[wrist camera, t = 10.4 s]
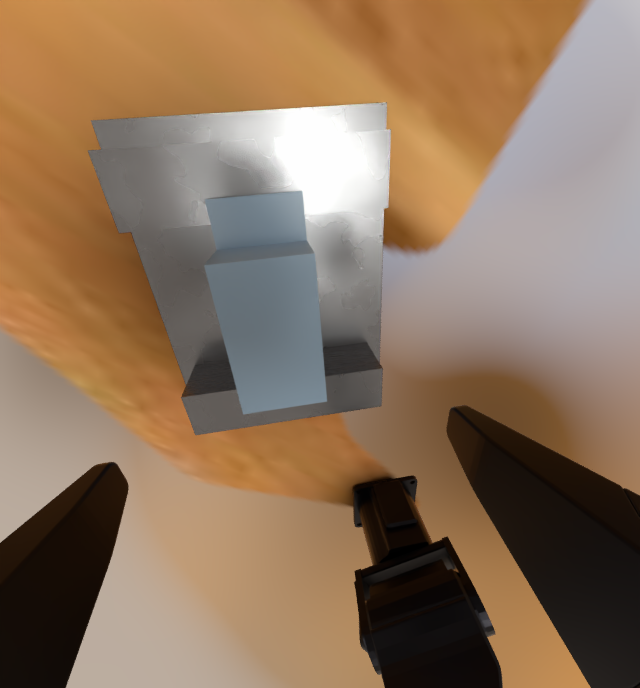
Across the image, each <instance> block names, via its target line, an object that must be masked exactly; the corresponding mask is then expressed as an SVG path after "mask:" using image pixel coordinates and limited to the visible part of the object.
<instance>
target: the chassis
mask: <svg viewBox="0 0 640 688" xmlns="http://www.w3.org/2000/svg"><path fill="white" fill-rule="evenodd" d="M386 119H387V103H371V104H354V105H338V106H322V107H305V108H289V109H273V110H257V111H240V112H224V113H208V114H191V115H175V116H159V117H142V118H126V119H110V120H94V121H91V122H92V125H93V128H94V131H95V133H96V136H97V139H98V142H99V144H100V147H101V150H89V151H88V153H89V155H90V158H91V161H92V163H93V166H94V169H95V171H96V174H97V176H98V179H99V182H100V184H101V187H102V190H103V192H104V195H105V198H106V200H107V203H108V206H109V208H110V211H111V213H112V216H113V219H114V221H115V224H116V227H117V229H118V232H119V233H126V232H131V233H132V236H133V239H134V242H135V245H136V247H137V250H138V253H139V256H140V259H141V261H142V264H143V267H144V270H145V272H146V275H147V278H148V281H149V284H150V286H151V289H152V292H153V295H154V297H155V300H156V303H157V306H158V309H159V311H160V314H161V317H162V320H163V323H164V325H165V328H166V331H167V334H168V336H169V339H170V342H171V345H172V348H173V350H174V353H175V356H176V359H177V361H178V364H179V367H180V370H181V373H182V375H183V378H184V381H185V384H186V387H185V390H184V392H183V394H182V397H181V398H182V401H183V404H184V406H185V409H186V412H187V414H188V417H189V419H190V422H191V425H192V427H193V430H194V433H195V435H200V434H207V433H213V432H219V431H226V430H232V429H239V428H245V427H251V426H258V425H264V424H271V423H277V422H283V421H290V420H296V419H303V418H309V417H315V416H322V415H328V414H335V413H341V412H347V411H354V410H360V409H367V408H373V407H380V406H381V404H382V375H383V373H382V372H383V368H382V366H381V365H380V333H381V298H382V262H383V226H384V208H388V199H389V170H390V140H391V129H390V130H386ZM291 191H302V192H303V203H304V213H305V224H306V235H307V241H308V243H309V245H310V246H311V248H312V249H313V251H314V253H315V260H316V272H317V284H318V297H319V309H320V321H321V333H322V346H323V358H324V370H325V382H326V394H327V402H321V403H314V404H308V405H301V406H295V407H288V408H282V409H275V410H269V411H262V412H256V413H249V414H243V412H242V408H241V404H240V400H239V396H238V393H237V389H236V385H235V381H234V377H233V374H232V370H231V366H230V362H229V358H228V355H227V351H226V347H225V343H224V339H223V336H222V332H221V328H220V324H219V320H218V317H217V313H216V309H215V305H214V301H213V298H212V294H211V290H210V286H209V282H208V279H207V275H206V271H205V267H204V265H205V264H206V262H207V261H208V260H209V259H210V258H211V256H212V255H213V254H214V253H215V251H216V245H215V241H214V237H213V233H212V229H211V224H210V220H209V216H208V212H207V207H206V203H205V199H213V198H224V197H235V196H246V195H257V194H269V193H280V192H291Z"/></svg>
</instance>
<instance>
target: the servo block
mask: <svg viewBox="0 0 640 688" xmlns="http://www.w3.org/2000/svg"><path fill="white" fill-rule="evenodd" d="M205 203H206V207H207V212H208V216H209V220H210V224H211V229H212V233H213V237H214V241H215V245H216V251H215V253H214V254H213V255H212V256H211V258H210V259H209V260H208V261H207V262H206V264H205V265H204V267H205V271H206V275H207V279H208V282H209V286H210V290H211V294H212V298H213V301H214V305H215V309H216V313H217V317H218V320H219V324H220V328H221V332H222V336H223V339H224V343H225V347H226V351H227V355H228V358H229V362H230V366H231V370H232V374H233V377H234V381H235V385H236V389H237V393H238V396H239V400H240V404H241V408H242V412H243V414H249V413H256V412H262V411H269V410H275V409H282V408H288V407H295V406H301V405H308V404H314V403H321V402H327V394H326V382H325V370H324V358H323V346H322V333H321V321H320V309H319V297H318V284H317V272H316V260H315V253H314V251H313V249H312V248H311V246H310V245H309V243H308V241H307V235H306V224H305V213H304V203H303V192H302V191H291V192H280V193H269V194H257V195H246V196H235V197H224V198H213V199H205Z"/></svg>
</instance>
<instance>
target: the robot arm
mask: <svg viewBox="0 0 640 688" xmlns="http://www.w3.org/2000/svg"><path fill="white" fill-rule="evenodd" d="M447 435H448V438H449V440H450V442H451V444H452V446H453V448H454V451H455V453H456V455H457V457H458V459H459V461H460V463H461V465H462V468H463V470H464V472H465V474H466V476H467V478H468V480H469V482H470V484H471V486H472V488H473V490H474V492H475V494H476V495H477V497H478V499H479V500H480V502H481V504H482V505H483V507H484V509H485V511H486V512H487V514H488V515H489V517H490V519H491V521H492V522H493V524H494V526H495V527H496V529H497V531H498V532H499V534H500V536H501V538H502V539H503V541H504V543H505V544H506V546H507V548H508V549H509V551H510V553H511V554H512V556H513V558H514V559H515V561H516V563H517V564H518V566H519V568H520V569H521V571H522V572H523V574H524V576H525V578H526V579H527V581H528V583H529V585H530V586H531V588H532V590H533V591H534V593H535V595H536V596H537V598H538V600H539V601H540V603H541V605H542V606H543V608H544V610H545V611H546V613H547V615H548V616H549V618H550V620H551V621H552V623H553V625H554V626H555V628H556V630H557V632H558V633H559V635H560V637H561V638H562V640H563V641H564V643H565V645H566V647H567V648H568V650H569V652H570V653H571V655H572V657H573V658H574V660H575V662H576V663H577V665H578V667H579V669H580V670H581V672H582V674H583V675H584V677H585V679H586V680H587V682H588V684H589V685H590V687H591V688H640V495H638V494H636V493H634V492H632V491H630V490H628V489H625V488H624V489H623V488H622V487H621V486H620V485H618V484H616V483H614V482H612V481H610V480H608V479H607V478H605V477H603V476H601V475H599V474H597V473H595V472H593V471H591V470H589V469H588V468H586V467H584V466H582V465H580V464H578V463H576V462H574V461H572V460H570V459H568V458H566V457H565V456H563V455H561V454H559V453H557V452H555V451H553V450H551V449H549V448H547V447H545V446H543V445H542V444H539V443H538V442H536V441H534V440H532V439H530V438H528V437H526V436H524V435H522V434H520V433H519V432H517V431H515V430H513V429H511V428H509V427H507V426H505V425H503V424H501V423H499V422H497V421H496V420H493V419H492V418H490V417H488V416H486V415H484V414H482V413H480V412H478V411H476V410H474V409H472V408H471V407H468V406H466V405H462V406H456V407H452V408H451V409H450V412H449V417H448V423H447ZM416 487H417V479H416V477H415V476H407V477H401V478H396V479H390V480H384V481H379V482H373V483H368V484H362V485H357V486H355V487H354V488H353V507H354V524H355V527H363V530H364V534H365V538H366V541H367V545H368V549H369V552H370V556H371V560H372V564H373V566H370V567H368V568H365V569H362V570H361V569H359V570H356V571H355V577H356V581H355V582H354V584H355V589H356V596H357V604H358V612H359V634H360V644H361V647H362V648H363V649H364V650H365V651H366V652H368V654H369V657H370V659H371V662H372V664H373V667H374V669H375V671H376V673H377V674H379V675H380V674H382V678H383V682H384V686H385V688H503V685H502V684H503V683H502V674H501V668H500V665H499V662H498V660H497V658H496V656H495V653H494V651H493V649H492V647H491V645H490V643H489V640H488V638H487V637H489V636H492V635H495V631H494V628H493V626H492V623H491V621H490V619H489V617H488V614H487V612H486V610H485V608H484V606H483V604H482V602H481V600H480V598H479V596H478V594H477V592H476V590H475V588H474V586H473V584H472V582H471V580H470V578H469V576H468V574H467V572H466V571H465V569H464V567H463V565H462V563H461V561H460V559H459V557H458V555H457V554H456V552H455V550H454V548H453V546H452V544H451V542H450V540H449V538H448V537H444V538H442V540H440V541H437V542H434V543H432V540H431V538H430V536H429V534H428V532H427V529H426V527H425V525H424V523H423V520H422V518H421V516H420V514H419V511H418V509H417V507H416V505H415V495H416ZM127 494H128V483H127V480H126V478H125V477H124V475H123V473H122V472H121V470H120V468H119V467H118V465H117V464H116V463H114V462H108V463H102V464H98V465H95V466H93V467H92V468H91V469H90V470H88V471H87V472H86V473H85V474H84V475H82V476H81V477H80V478H79V479H77V480H76V481H75V482H74V483H73V484H71V485H70V486H69V487H68V488H66V489H65V490H64V491H63V492H62V493H60V494H59V495H58V496H57V497H56V498H54V499H53V500H52V501H51V502H50V503H48V504H47V505H46V506H45V507H43V508H42V509H41V510H40V511H39V512H37V513H36V514H35V515H34V516H32V517H31V518H30V519H29V520H28V521H26V522H25V523H24V524H23V525H21V526H20V527H19V528H18V529H17V530H15V531H14V532H13V533H12V534H10V535H9V536H8V537H7V538H6V539H4V540H3V541H2V542H1V543H0V688H66V685H67V682H68V679H69V676H70V674H71V671H72V668H73V665H74V663H75V660H76V657H77V654H78V651H79V648H80V645H81V643H82V640H83V637H84V634H85V631H86V628H87V626H88V623H89V620H90V617H91V614H92V611H93V609H94V606H95V603H96V600H97V597H98V594H99V591H100V589H101V586H102V583H103V580H104V577H105V574H106V572H107V569H108V566H109V563H110V560H111V557H112V554H113V550H114V546H115V543H116V538H117V534H118V530H119V526H120V522H121V518H122V514H123V510H124V506H125V502H126V498H127Z"/></svg>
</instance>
